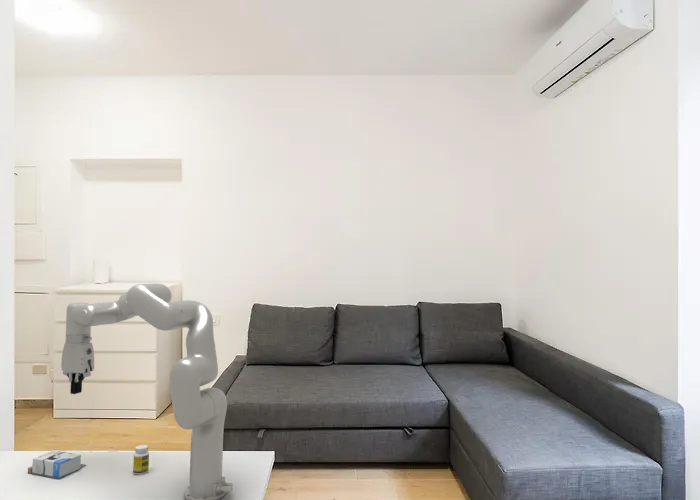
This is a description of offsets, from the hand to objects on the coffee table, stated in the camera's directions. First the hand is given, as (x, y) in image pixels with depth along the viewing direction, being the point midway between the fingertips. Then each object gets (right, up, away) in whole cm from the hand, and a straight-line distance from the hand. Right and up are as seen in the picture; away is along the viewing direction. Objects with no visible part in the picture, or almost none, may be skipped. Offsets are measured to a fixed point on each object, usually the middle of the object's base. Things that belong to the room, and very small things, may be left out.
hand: (76, 392), depth 168 cm
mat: (-5, -25, -3) cm, 26 cm away
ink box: (+2, -22, -7) cm, 23 cm away
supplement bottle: (+24, -26, -4) cm, 35 cm away
